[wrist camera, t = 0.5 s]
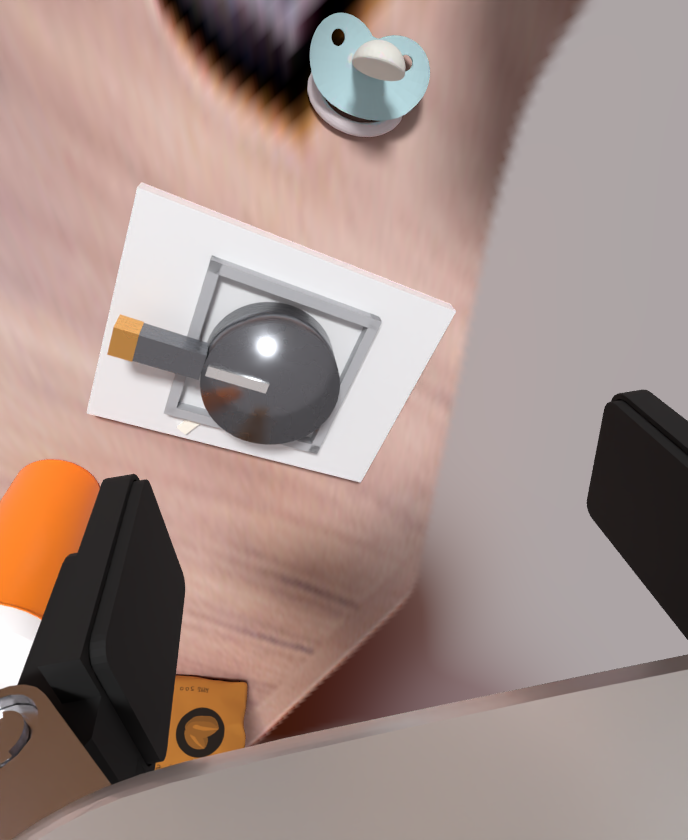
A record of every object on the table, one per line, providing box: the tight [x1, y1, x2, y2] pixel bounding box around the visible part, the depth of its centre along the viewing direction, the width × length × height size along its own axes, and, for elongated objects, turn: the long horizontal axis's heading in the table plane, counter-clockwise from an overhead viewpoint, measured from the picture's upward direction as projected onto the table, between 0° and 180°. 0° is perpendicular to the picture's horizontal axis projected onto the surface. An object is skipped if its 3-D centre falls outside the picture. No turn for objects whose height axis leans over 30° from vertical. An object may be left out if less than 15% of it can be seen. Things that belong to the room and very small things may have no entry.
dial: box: [107, 302, 340, 445], centre depth 40 cm, size 16×10×4 cm, turn 66°
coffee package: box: [155, 675, 247, 770], centre depth 60 cm, size 10×12×22 cm
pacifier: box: [307, 13, 430, 137], centre depth 32 cm, size 7×6×6 cm
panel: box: [87, 182, 456, 483], centre depth 43 cm, size 18×24×3 cm
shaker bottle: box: [0, 460, 100, 689], centre depth 41 cm, size 9×9×20 cm
